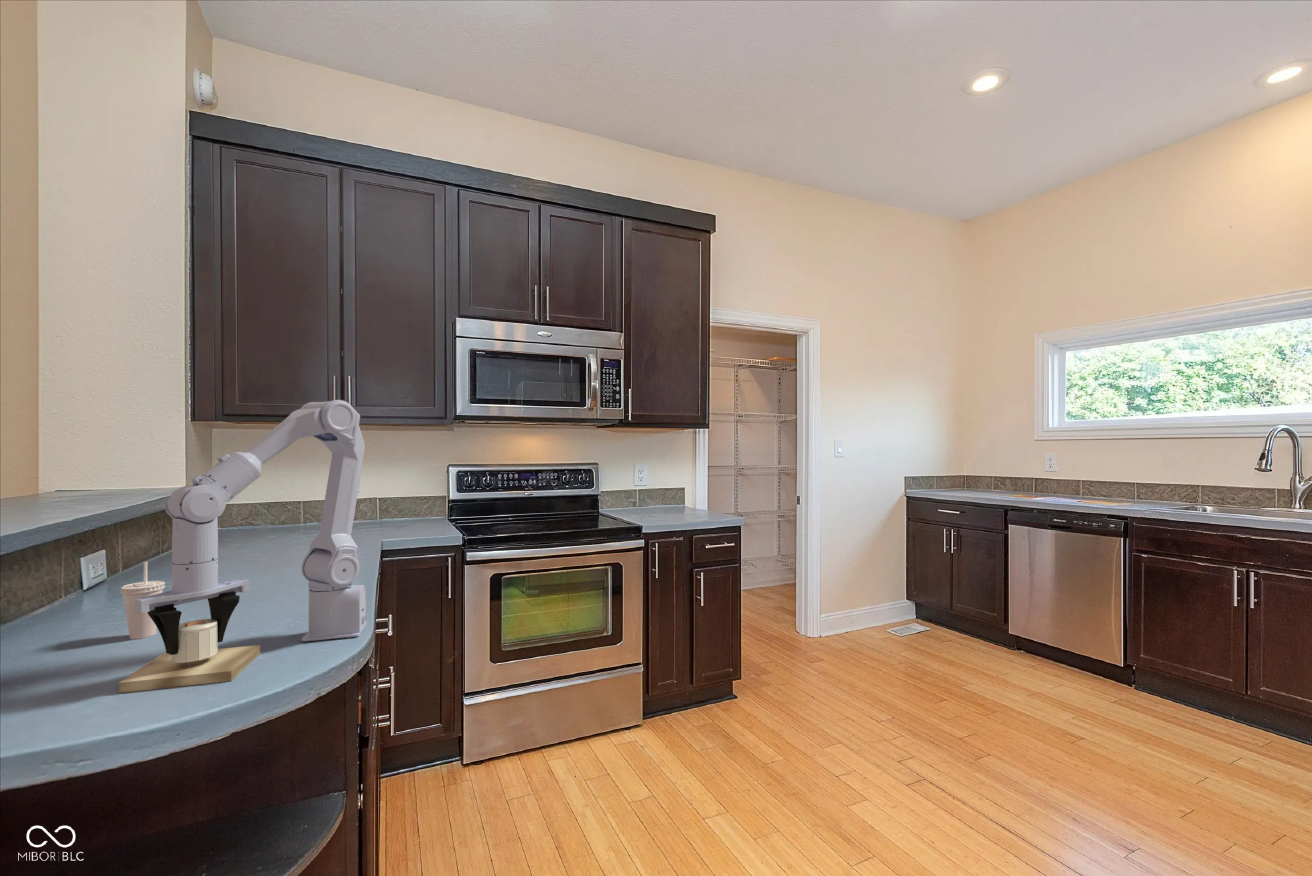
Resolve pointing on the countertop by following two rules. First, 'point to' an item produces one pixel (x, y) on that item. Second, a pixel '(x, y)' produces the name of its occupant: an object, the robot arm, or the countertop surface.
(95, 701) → the countertop surface
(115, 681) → the countertop surface
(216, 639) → the cream short cylinder
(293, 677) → the countertop surface
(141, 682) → the post board
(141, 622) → the smoothie
